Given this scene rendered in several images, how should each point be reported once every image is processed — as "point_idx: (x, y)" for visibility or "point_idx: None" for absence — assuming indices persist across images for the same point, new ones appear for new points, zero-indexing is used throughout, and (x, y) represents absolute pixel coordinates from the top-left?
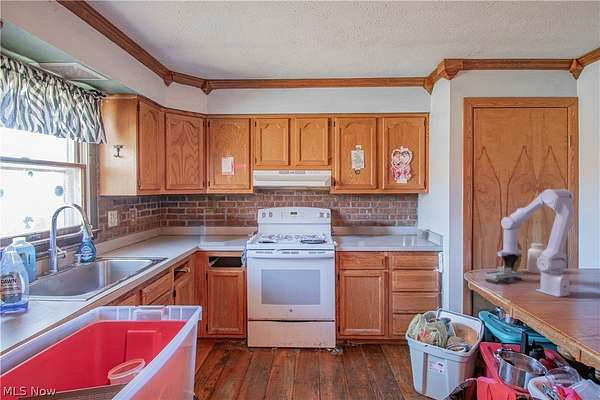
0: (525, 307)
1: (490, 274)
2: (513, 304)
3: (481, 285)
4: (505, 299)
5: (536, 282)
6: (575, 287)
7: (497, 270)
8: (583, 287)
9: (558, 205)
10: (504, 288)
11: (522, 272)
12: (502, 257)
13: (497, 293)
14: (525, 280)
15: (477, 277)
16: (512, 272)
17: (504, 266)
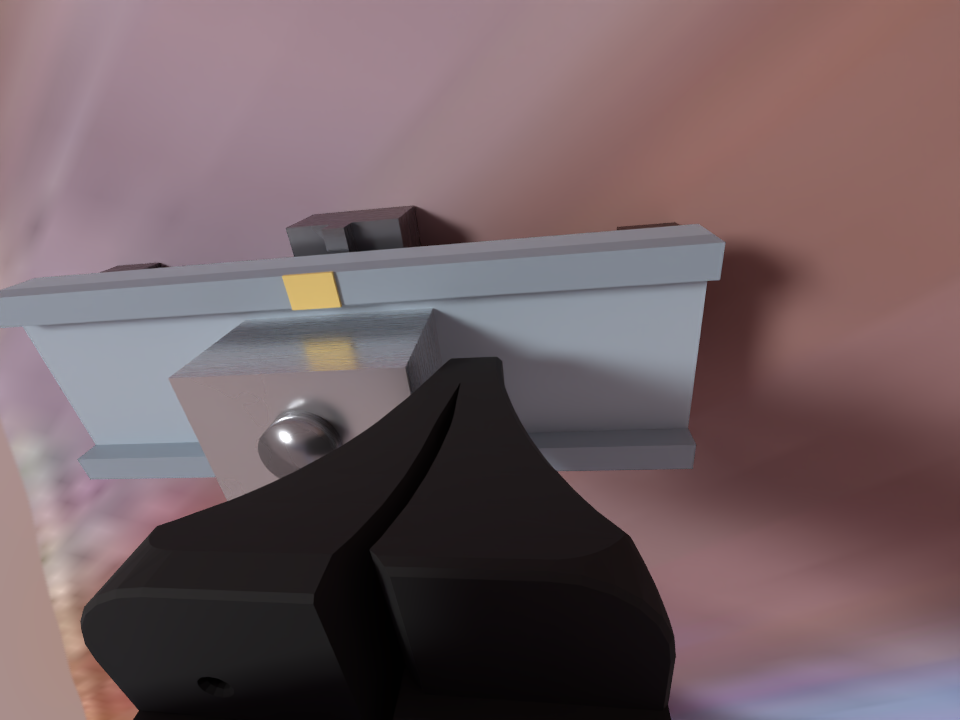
0: (118, 707)
1: (67, 369)
2: (76, 675)
3: (6, 374)
4: (68, 629)
5: (734, 482)
6: (885, 671)
7: (217, 343)
8: (956, 691)
9: None
10: (197, 502)
11: (670, 467)
12: (202, 516)
13: (67, 556)
14: (706, 386)
15: (86, 9)
16: (576, 352)
17: (274, 474)
